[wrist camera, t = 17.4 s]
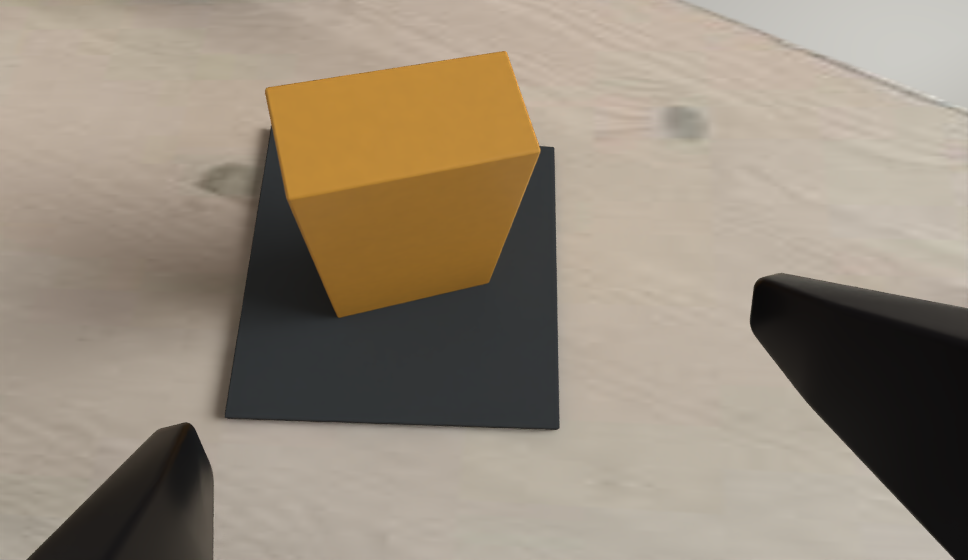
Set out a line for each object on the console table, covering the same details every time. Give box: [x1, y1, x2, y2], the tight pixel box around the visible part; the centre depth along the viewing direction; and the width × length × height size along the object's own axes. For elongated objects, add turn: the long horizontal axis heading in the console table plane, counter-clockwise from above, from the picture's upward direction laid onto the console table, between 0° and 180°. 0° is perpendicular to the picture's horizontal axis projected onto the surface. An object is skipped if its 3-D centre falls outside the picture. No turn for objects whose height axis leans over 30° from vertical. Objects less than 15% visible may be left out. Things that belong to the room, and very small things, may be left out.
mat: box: [225, 125, 559, 430], centre depth 24 cm, size 12×12×1 cm
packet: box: [265, 51, 540, 318], centre depth 19 cm, size 3×6×10 cm, turn 106°
